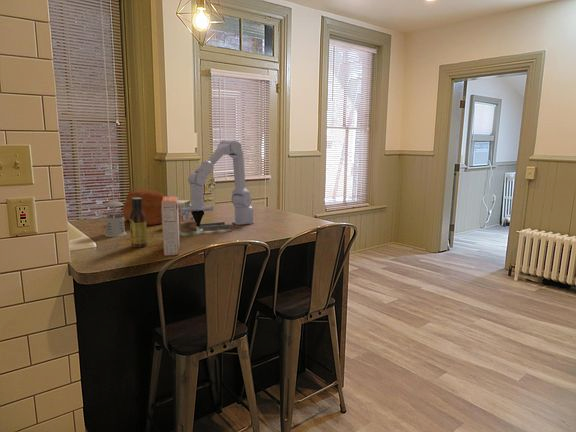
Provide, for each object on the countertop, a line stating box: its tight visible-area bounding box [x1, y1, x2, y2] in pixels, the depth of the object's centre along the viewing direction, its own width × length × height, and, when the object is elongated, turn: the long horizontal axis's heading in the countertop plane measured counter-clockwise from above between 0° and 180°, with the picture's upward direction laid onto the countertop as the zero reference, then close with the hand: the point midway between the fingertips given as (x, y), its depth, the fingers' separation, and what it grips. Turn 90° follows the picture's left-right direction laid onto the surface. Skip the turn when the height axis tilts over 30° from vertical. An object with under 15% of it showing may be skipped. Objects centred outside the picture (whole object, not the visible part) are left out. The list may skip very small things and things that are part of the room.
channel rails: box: [199, 221, 230, 231], centre depth 200 cm, size 13×8×2 cm, turn 119°
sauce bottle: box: [129, 197, 148, 248], centre depth 166 cm, size 7×6×20 cm
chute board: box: [179, 227, 233, 237], centre depth 197 cm, size 24×14×1 cm, turn 119°
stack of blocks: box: [178, 199, 195, 222], centre depth 212 cm, size 21×6×12 cm, turn 169°
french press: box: [103, 179, 128, 238], centre depth 185 cm, size 10×12×25 cm
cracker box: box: [161, 195, 181, 257], centre depth 159 cm, size 14×6×21 cm, turn 13°
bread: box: [122, 188, 165, 226], centre depth 215 cm, size 18×21×17 cm
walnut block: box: [179, 221, 197, 232], centre depth 193 cm, size 7×5×4 cm, turn 119°
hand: (197, 226), depth 196 cm, fingers closed
